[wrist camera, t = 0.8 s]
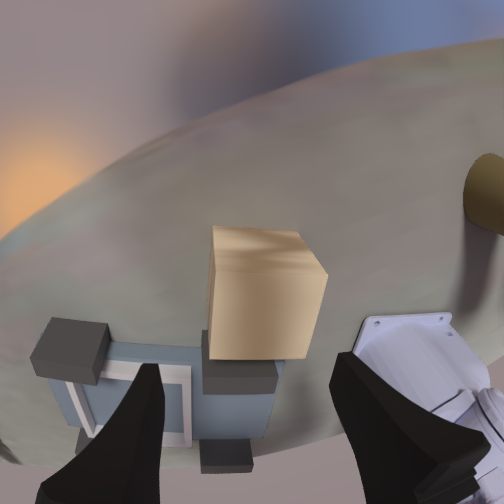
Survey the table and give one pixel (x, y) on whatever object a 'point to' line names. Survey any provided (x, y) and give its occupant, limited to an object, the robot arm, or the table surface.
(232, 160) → the table surface
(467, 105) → the table surface
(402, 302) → the table surface
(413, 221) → the table surface
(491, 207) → the cork
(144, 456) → the robot arm
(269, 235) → the block
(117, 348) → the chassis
